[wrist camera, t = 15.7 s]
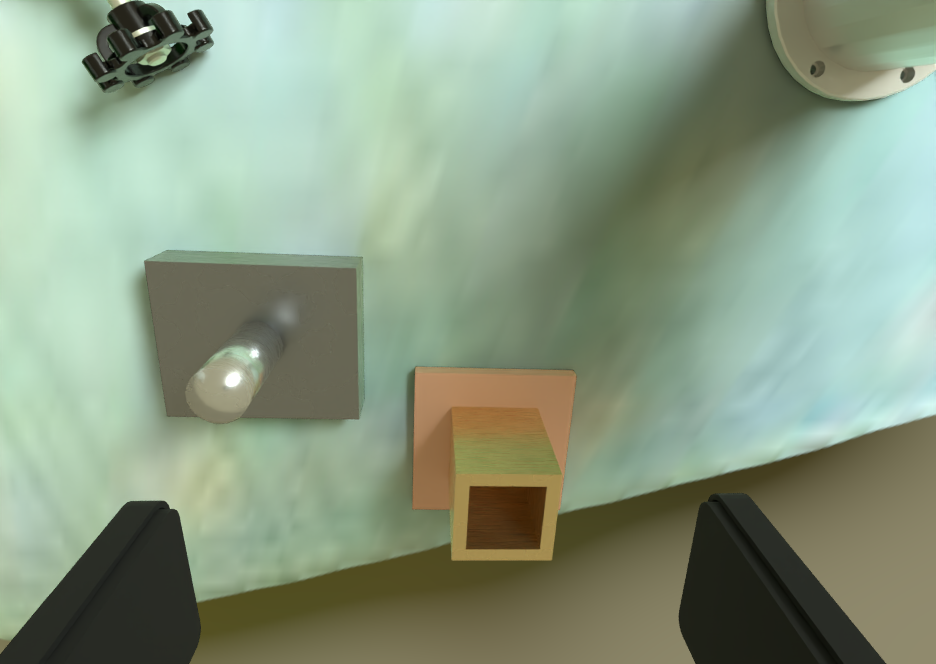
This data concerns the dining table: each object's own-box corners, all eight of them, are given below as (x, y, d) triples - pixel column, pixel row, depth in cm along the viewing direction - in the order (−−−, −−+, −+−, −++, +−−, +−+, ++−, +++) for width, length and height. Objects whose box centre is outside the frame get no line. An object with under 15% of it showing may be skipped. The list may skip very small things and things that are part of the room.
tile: (573, 370, 40) (576, 376, 39) (557, 501, 43) (559, 510, 42) (415, 366, 39) (415, 372, 38) (412, 500, 42) (412, 509, 42)
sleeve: (537, 408, 39) (562, 474, 32) (530, 481, 41) (551, 560, 34) (451, 406, 39) (455, 473, 31) (448, 480, 41) (451, 560, 33)
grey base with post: (362, 257, 36) (337, 303, 27) (364, 398, 39) (342, 483, 30) (167, 250, 35) (70, 295, 26) (186, 395, 38) (107, 481, 29)
